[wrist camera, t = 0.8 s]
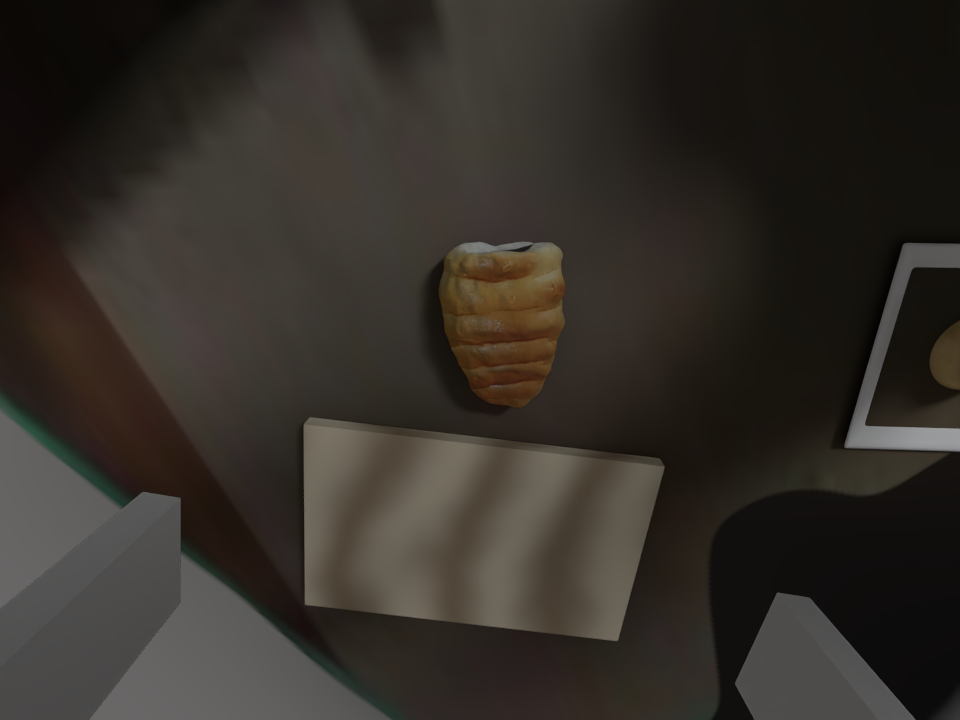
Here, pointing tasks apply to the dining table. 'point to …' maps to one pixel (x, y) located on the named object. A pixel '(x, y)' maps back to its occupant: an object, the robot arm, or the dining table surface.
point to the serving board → (473, 528)
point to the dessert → (951, 361)
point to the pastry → (503, 316)
